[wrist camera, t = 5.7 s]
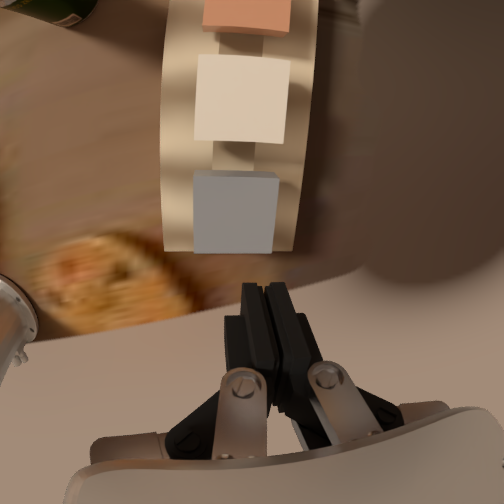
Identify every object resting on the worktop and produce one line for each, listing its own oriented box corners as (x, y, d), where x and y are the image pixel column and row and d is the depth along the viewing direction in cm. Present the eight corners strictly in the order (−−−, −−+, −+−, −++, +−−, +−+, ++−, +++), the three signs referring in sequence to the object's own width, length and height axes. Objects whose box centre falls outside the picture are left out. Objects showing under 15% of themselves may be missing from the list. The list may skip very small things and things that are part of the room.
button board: (285, 237, 30) (292, 251, 28) (168, 236, 28) (164, 251, 26) (309, -17, 17) (319, -28, 15) (179, -28, 16) (176, -40, 13)
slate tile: (263, 233, 26) (271, 253, 23) (195, 232, 25) (193, 253, 22) (269, 167, 23) (279, 178, 20) (196, 165, 22) (193, 176, 19)
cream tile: (272, 137, 22) (283, 143, 19) (196, 134, 21) (193, 140, 18) (278, 66, 19) (290, 60, 16) (200, 62, 18) (198, 54, 15)
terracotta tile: (277, 41, 19) (289, 32, 16) (203, 36, 18) (202, 25, 15) (282, -15, 16) (293, -31, 13) (210, -21, 15) (210, -39, 12)
